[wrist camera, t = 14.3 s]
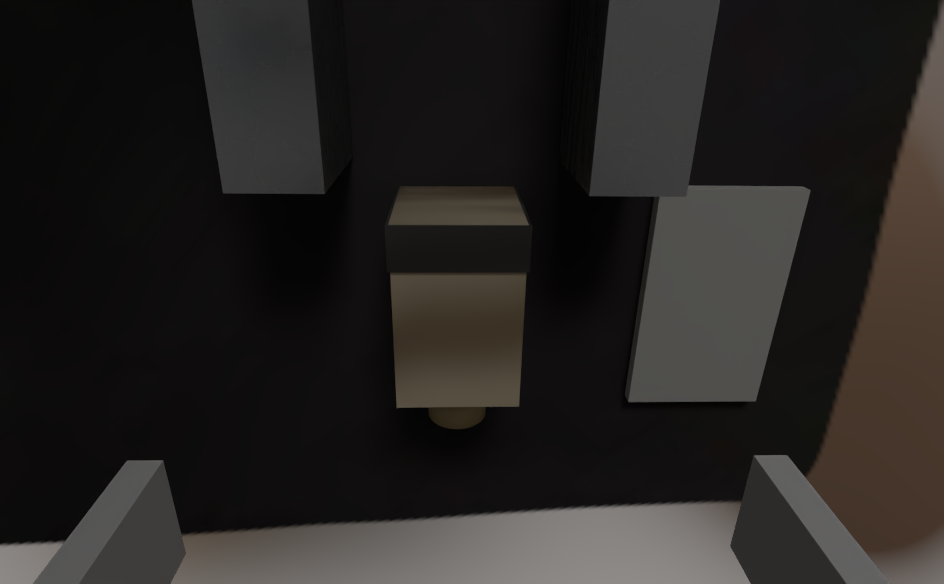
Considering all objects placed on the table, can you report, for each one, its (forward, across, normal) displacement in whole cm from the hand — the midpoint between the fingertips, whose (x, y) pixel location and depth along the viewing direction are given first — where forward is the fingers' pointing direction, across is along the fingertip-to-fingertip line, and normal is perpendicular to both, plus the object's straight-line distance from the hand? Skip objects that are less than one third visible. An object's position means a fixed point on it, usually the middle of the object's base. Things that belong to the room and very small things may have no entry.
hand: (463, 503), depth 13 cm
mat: (+13, +11, -1) cm, 17 cm away
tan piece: (+13, 0, +1) cm, 13 cm away
